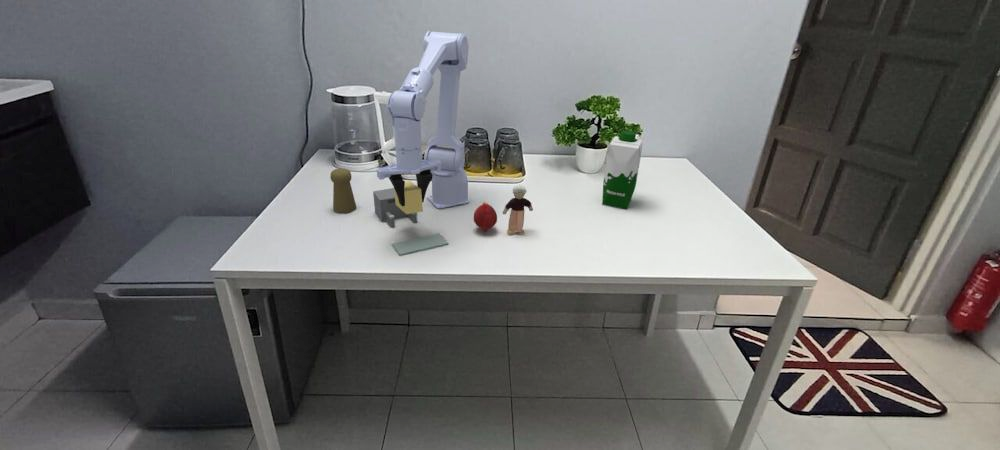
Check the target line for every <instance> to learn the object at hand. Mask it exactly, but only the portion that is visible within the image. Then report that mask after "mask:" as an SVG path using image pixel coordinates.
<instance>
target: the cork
mask: <svg viewBox="0 0 1000 450" xmlns="http://www.w3.org/2000/svg"><path fill="white" fill-rule="evenodd" d="M329 179H330V181H331V182H332V183H333V188H332V189H333V194H332V195H333V199H332V200H333V201H332V202H333V203H332V205H333V206H332V210H333V212H334V213H336V214H340V215H341V214H350V213H353V212H355V211H356V210H357V209H358V208H357V203H356V200H355V194H354V192H353V188H352V185H351V180H352V173H351V170H349V169H347V168H342V167H341V168H335V169H333V170H332V171H331V172H330V178H329Z"/></svg>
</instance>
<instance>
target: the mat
mask: <svg viewBox="0 0 1000 450" xmlns="http://www.w3.org/2000/svg"><path fill="white" fill-rule="evenodd" d="M449 244H450V243H449V241H447V240H446V239H445V237H444V236H443V235H442V234H441V233H439V232H437V233H432V234H428V235H423V236H420V237H414V238H410V239H406V240H402V241H396V242H392V243H391V246H392V247H393V249H394V251H396V253H397V255H398V256H400V257H402V256H404V255H409V254H413V253H417V252H422V251H426V250H431V249H434V248H435V249H436V248H440V247H444V246H448V245H449Z"/></svg>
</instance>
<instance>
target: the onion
mask: <svg viewBox="0 0 1000 450" xmlns="http://www.w3.org/2000/svg"><path fill="white" fill-rule="evenodd" d="M497 222H498V214H497V212H496V209H495V208H494V207H493V206H492V205H490V204H489V203H487V201H486V200H483V202H482V204H481V205H479V206H478V207H477V208H476V209H475V210H474V213H473V223H474V224H475V225H476V227H478V228H479V229H480V230H481V231H484V232H486V231H488V230H490V229H492V228H493V227H495V226H496V224H497Z"/></svg>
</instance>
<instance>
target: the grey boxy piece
mask: <svg viewBox="0 0 1000 450" xmlns="http://www.w3.org/2000/svg"><path fill="white" fill-rule="evenodd" d="M372 195H373V204H374V212H375V214H376V216H377V217H378V218H379V220H380V221H381V222H387V223H386V224H388V225H389V227H390V228H395V226H396V224H395V223H396V221H395V220H397V219H402V218H406V217H407V218H409V220H410V221H411V222H412V223H414V224H415V223H417V222H418V217H417V216H418V214H417V213H418V212H416V213H411V214H406V213H404V212H403V211H402V210H401V209H400V208H399V207H398V206H396V203H395V193H394V187H392V188H387V189H379V190H374V191H373V194H372Z"/></svg>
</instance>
